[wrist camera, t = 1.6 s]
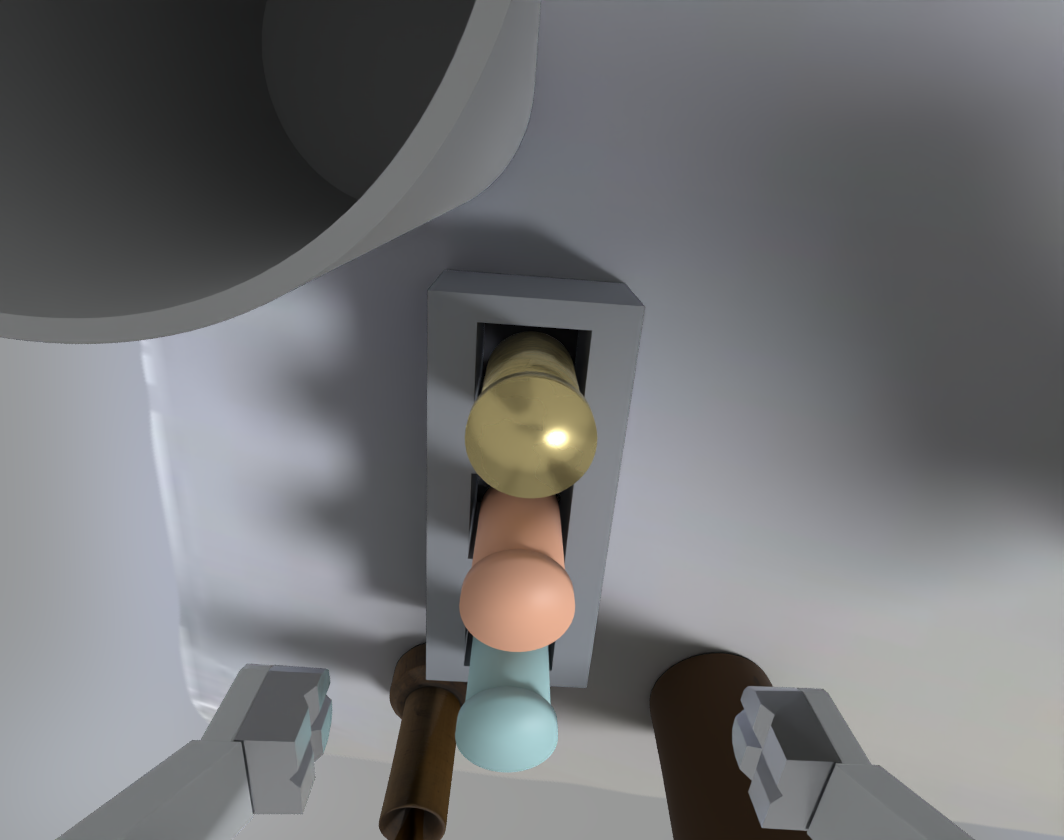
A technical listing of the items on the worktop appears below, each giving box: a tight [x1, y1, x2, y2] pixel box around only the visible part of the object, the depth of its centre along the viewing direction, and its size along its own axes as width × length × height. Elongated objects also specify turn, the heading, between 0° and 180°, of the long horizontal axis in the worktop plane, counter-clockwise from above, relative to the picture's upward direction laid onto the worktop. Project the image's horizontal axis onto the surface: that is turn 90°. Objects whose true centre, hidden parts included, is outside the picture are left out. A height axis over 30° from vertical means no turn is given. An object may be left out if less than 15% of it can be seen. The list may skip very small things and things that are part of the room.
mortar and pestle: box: [379, 644, 468, 840], centre depth 35 cm, size 7×6×18 cm
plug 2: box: [459, 487, 575, 652], centre depth 28 cm, size 5×5×8 cm
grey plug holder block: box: [426, 270, 645, 688], centre depth 34 cm, size 10×24×6 cm, turn 176°
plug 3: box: [455, 636, 558, 772], centre depth 32 cm, size 5×5×8 cm
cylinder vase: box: [0, 0, 541, 344], centre depth 17 cm, size 12×12×25 cm
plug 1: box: [465, 331, 597, 498], centre depth 25 cm, size 5×5×8 cm
